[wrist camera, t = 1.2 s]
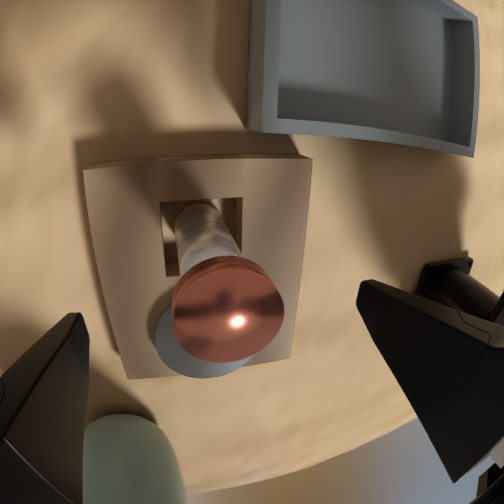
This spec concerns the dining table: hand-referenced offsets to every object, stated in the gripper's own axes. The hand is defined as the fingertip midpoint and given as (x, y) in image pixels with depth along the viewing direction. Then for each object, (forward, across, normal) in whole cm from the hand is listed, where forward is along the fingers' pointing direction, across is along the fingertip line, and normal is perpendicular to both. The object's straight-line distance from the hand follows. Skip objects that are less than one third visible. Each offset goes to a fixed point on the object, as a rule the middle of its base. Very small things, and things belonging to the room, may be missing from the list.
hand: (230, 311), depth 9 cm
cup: (+7, +7, +16) cm, 19 cm away
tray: (+7, -9, -10) cm, 15 cm away
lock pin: (+7, 0, 0) cm, 7 cm away
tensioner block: (+7, 0, +2) cm, 7 cm away
